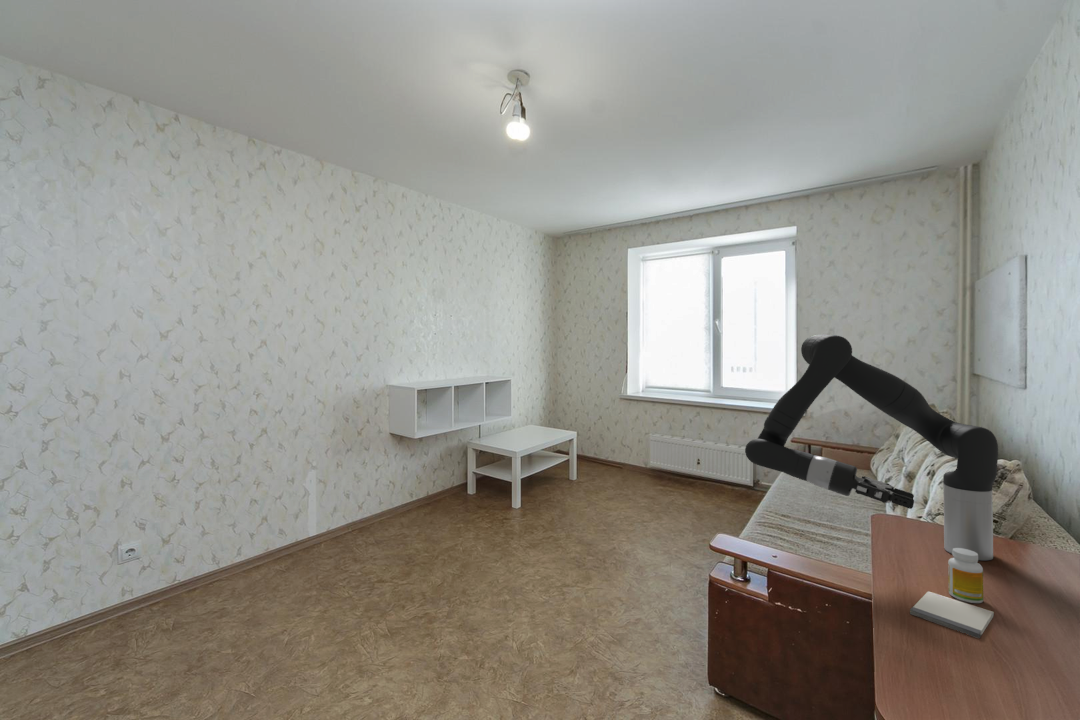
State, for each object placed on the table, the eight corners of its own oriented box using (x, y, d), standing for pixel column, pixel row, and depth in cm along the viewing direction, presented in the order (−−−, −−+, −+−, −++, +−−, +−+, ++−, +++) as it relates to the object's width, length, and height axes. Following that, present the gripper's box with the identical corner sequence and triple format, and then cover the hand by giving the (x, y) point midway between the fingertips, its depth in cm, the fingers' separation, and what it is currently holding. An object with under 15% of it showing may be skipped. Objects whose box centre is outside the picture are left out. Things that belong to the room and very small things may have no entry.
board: (928, 594, 97) (928, 590, 97) (993, 615, 89) (993, 611, 89) (910, 614, 90) (910, 609, 90) (979, 638, 82) (979, 633, 82)
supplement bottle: (990, 605, 93) (990, 558, 93) (959, 602, 94) (959, 556, 94) (971, 592, 98) (970, 547, 98) (942, 589, 99) (941, 545, 99)
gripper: (831, 462, 107) (918, 489, 97) (838, 458, 118) (917, 482, 108) (823, 493, 108) (909, 523, 98) (830, 485, 119) (908, 511, 109)
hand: (913, 501), depth 103 cm, fingers open, 8 cm apart
